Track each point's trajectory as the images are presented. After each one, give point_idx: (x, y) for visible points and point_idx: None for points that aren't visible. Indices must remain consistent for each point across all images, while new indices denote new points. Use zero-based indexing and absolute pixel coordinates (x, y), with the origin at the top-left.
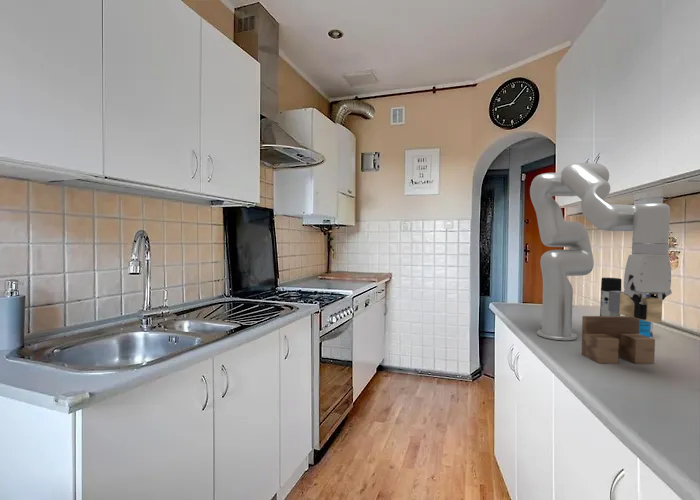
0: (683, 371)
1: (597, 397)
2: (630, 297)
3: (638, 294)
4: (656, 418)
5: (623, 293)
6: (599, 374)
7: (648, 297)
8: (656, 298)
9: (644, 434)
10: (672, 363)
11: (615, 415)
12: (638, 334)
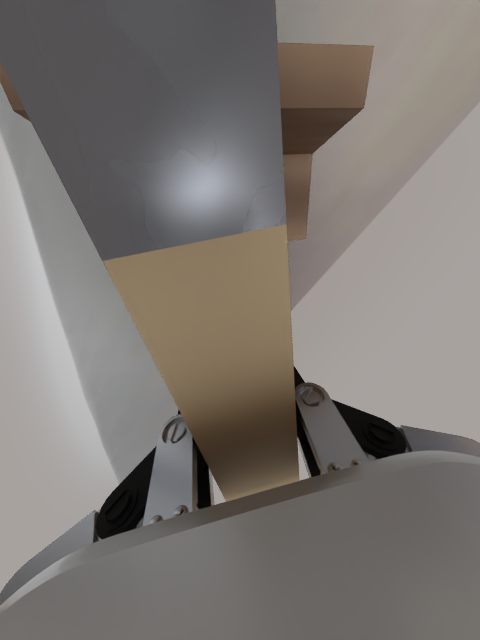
0: (296, 285)
1: (93, 405)
2: (118, 493)
3: (196, 495)
4: (145, 435)
5: (151, 285)
6: (126, 321)
7: (266, 462)
8: (289, 478)
9: (117, 460)
10: (318, 236)
11: (102, 438)
12: (303, 166)
